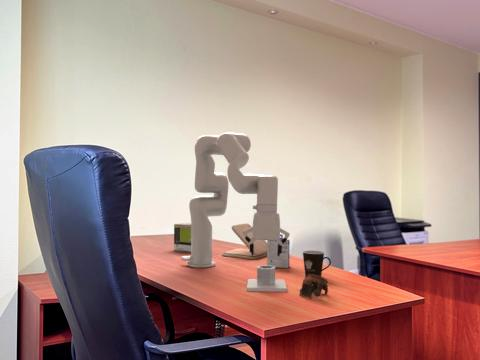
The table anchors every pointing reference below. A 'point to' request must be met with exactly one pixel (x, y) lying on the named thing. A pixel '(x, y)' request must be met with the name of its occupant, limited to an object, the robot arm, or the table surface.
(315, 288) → the brown animal figurine
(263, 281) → the collar
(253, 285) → the flange plate
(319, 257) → the coffee mug
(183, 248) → the tea box
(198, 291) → the table surface
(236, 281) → the table surface
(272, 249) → the ink cartridge box
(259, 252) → the case
